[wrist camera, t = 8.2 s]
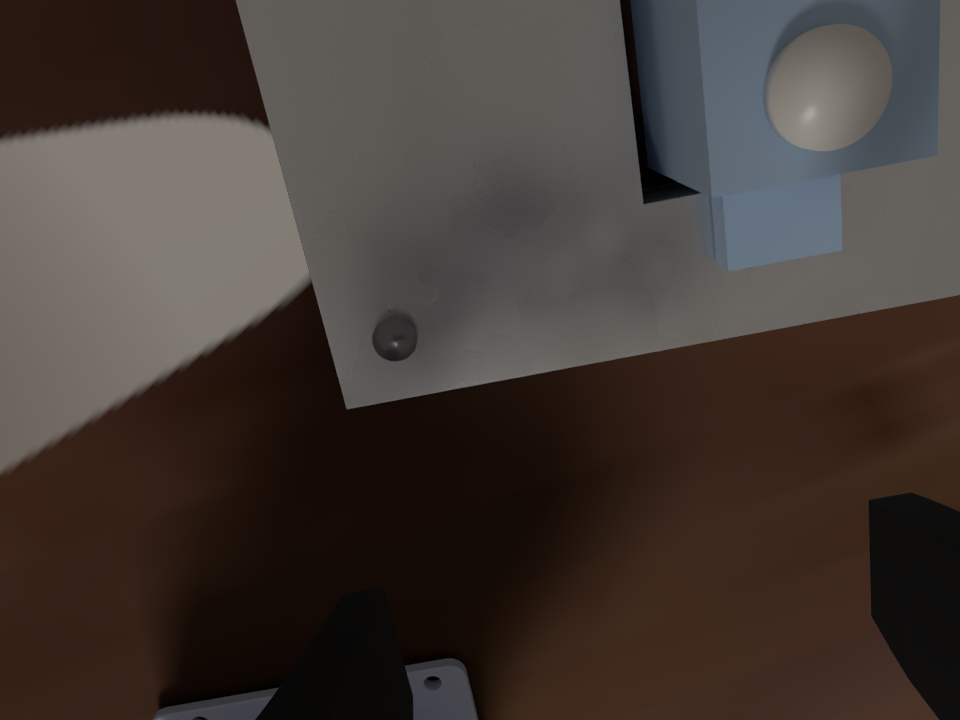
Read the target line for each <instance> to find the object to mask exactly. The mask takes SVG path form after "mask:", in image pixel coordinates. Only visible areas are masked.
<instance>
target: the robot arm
mask: <svg viewBox="0 0 960 720" xmlns="http://www.w3.org/2000/svg"><path fill="white" fill-rule="evenodd" d="M869 531H870V574H871V616H872V618H873V619H874V621H875V623H876V625H877V626H878V628H879V630H880V632H881V633H882V635H883V637H884V639H885V640H886V642H887V644H888V646H889V647H890V649H891V651H892V653H893V654H894V656H895V657H896V659H897V661H898V662H899V664H900V666H901V667H902V669H903V671H904V672H905V674H906V676H907V677H908V679H909V680H910V681H911V683H912V684H913V685H914V687H915V688H916V689H917V691H918V692H919V693H920V695H921V696H922V697H923V699H924V700H925V701H926V703H927V704H928V705H929V707H930V708H931V709H932V710H933V712H934V713H935V714H936V716H937V717H938V718H939V720H960V512H959V511H956V510H954V509H952V508H949V507H947V506H945V505H942V504H940V503H937V502H935V501H932V500H930V499H927V498H925V497H922V496H919V495H916V494H914V493H906V494H901V495H895V496H890V497H884V498H878V499H873V500H869ZM430 676H436V677H438V678H440V679H438V680H435V681H430V680H428V679H426V678H427V677H430ZM198 717H204V718H206V719H207V720H478V715H477V711H476V707H475V703H474V699H473V695H472V691H471V687H470V683H469V679H468V675H467V670H466V668H465V666H464V664H463V663H462V662H460V661H459V660H456V659H453V658H449V659H441V660H435V661H429V662H423V663H418V664H412V665H406V666H405V665H404V661H403V658H402V654H401V650H400V647H399V643H398V640H397V636H396V632H395V629H394V625H393V622H392V618H391V614H390V611H389V607H388V603H387V600H386V596H385V593H384V589H383V588H379V589H373V590H367V591H362V592H356V593H351V594H345V595H343V596H342V597H341V599H340V600H339V601H338V603H337V604H336V606H335V607H334V608H333V610H332V611H331V613H330V614H329V616H328V617H327V619H326V620H325V622H324V623H323V625H322V626H321V628H320V629H319V631H318V632H317V634H316V635H315V637H314V638H313V640H312V641H311V642H310V644H309V645H308V647H307V648H306V650H305V651H304V653H303V654H302V656H301V657H300V659H299V660H298V662H297V663H296V664H295V666H294V667H293V669H292V670H291V671H290V673H289V674H288V676H287V677H286V678H285V680H284V681H283V683H282V684H281V685H280V687H279V688H274V689H268V690H262V691H256V692H251V693H245V694H239V695H233V696H228V697H222V698H216V699H210V700H205V701H199V702H193V703H187V704H182V705H176V706H170V707H165V708H162V709H160V710H159V711H158V712H157V713H156V715H155V717H154V719H153V720H202V719H199V718H198Z"/></svg>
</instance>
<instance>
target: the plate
mask: <svg viewBox="0 0 960 720" xmlns="http://www.w3.org/2000/svg"><path fill="white" fill-rule="evenodd" d="M236 3H237V7H238V11H239V14H240V18H241V22H242V25H243V29H244V33H245V36H246V40H247V44H248V47H249V51H250V55H251V58H252V62H253V66H254V70H255V73H256V77H257V81H258V84H259V88H260V92H261V95H262V99H263V103H264V106H265V110H266V114H267V117H268V121H269V125H270V128H271V132H272V136H273V140H274V143H275V147H276V150H277V154H278V158H279V162H280V165H281V169H282V172H283V176H284V180H285V184H286V187H287V191H288V195H289V199H290V202H291V206H292V209H293V213H294V217H295V220H296V224H297V228H298V231H299V235H300V239H301V243H302V246H303V250H304V254H305V257H306V261H307V265H308V269H309V272H310V276H311V280H312V283H313V287H314V291H315V294H316V298H317V302H318V305H319V309H320V313H321V316H322V320H323V324H324V327H325V331H326V335H327V339H328V342H329V346H330V350H331V353H332V357H333V361H334V364H335V368H336V372H337V375H338V379H339V383H340V386H341V390H342V394H343V397H344V401H345V405H346V409H352V408H357V407H362V406H368V405H373V404H378V403H384V402H389V401H394V400H400V399H405V398H410V397H416V396H421V395H427V394H432V393H437V392H443V391H448V390H453V389H459V388H464V387H469V386H475V385H480V384H485V383H491V382H496V381H501V380H507V379H512V378H517V377H523V376H528V375H534V374H539V373H544V372H550V371H555V370H560V369H566V368H571V367H576V366H582V365H587V364H592V363H598V362H603V361H608V360H614V359H619V358H624V357H630V356H635V355H640V354H646V353H651V352H657V351H662V350H667V349H673V348H678V347H683V346H689V345H694V344H699V343H705V342H710V341H715V340H721V339H726V338H731V337H737V336H742V335H747V334H753V333H758V332H764V331H769V330H774V329H780V328H785V327H790V326H796V325H801V324H806V323H812V322H817V321H822V320H828V319H833V318H838V317H844V316H849V315H854V314H860V313H865V312H871V311H876V310H881V309H887V308H892V307H897V306H903V305H908V304H913V303H919V302H924V301H929V300H935V299H940V298H945V297H951V296H956V295H960V0H940V44H939V101H938V156H933V157H928V158H922V159H917V160H912V161H906V162H901V163H896V164H890V165H885V166H880V167H875V168H869V169H864V170H859V171H853V172H848V173H843V174H840V177H841V218H842V251H836V252H831V253H825V254H820V255H814V256H809V257H804V258H798V259H793V260H787V261H782V262H777V263H771V264H766V265H760V266H755V267H750V268H744V269H739V270H733V271H727V270H726V269H724V268H723V267H721V266H720V265H719V264H717V263H716V251H715V239H714V226H713V214H712V202H711V197H709V196H707V195H705V194H702V193H700V192H698V191H696V190H694V189H692V188H690V187H688V186H686V185H684V184H681V183H679V182H672V183H667V184H661V185H656V186H651V187H646V188H642V187H641V178H640V170H639V161H638V153H637V144H636V135H635V127H634V118H633V110H632V101H631V93H630V84H629V75H628V67H627V58H626V50H625V41H624V33H623V24H622V15H621V7H620V0H236Z"/></svg>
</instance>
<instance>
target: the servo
mask: <svg viewBox="0 0 960 720" xmlns="http://www.w3.org/2000/svg"><path fill="white" fill-rule="evenodd" d="M630 3H631V12H632V22H633V31H634V40H635V49H636V59H637V68H638V77H639V87H640V96H641V105H642V115H643V124H644V133H645V143H646V152H647V161H648V168H650V169H652V170H654V171H656V172H658V173H660V174H663V175H665V176H667V177H669V178H671V179H673V180H675V181H677V182H679V183H681V184H684V185H686V186H688V187H690V188H692V189H694V190H696V191H698V192H700V193H702V194H705V195H707V196H709V197H711V202H712V214H713V226H714V239H715V251H716V263H717V264H719V265H720V266H721V267H723V268H724V269H726V270H727V271H733V270H739V269H744V268H750V267H755V266H760V265H766V264H771V263H777V262H782V261H787V260H793V259H798V258H804V257H809V256H814V255H820V254H825V253H831V252H836V251H842V218H841V177H840V174H843V173H848V172H853V171H859V170H864V169H869V168H875V167H880V166H885V165H890V164H896V163H901V162H906V161H912V160H917V159H922V158H928V157H933V156H938V101H939V44H940V0H630Z"/></svg>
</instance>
